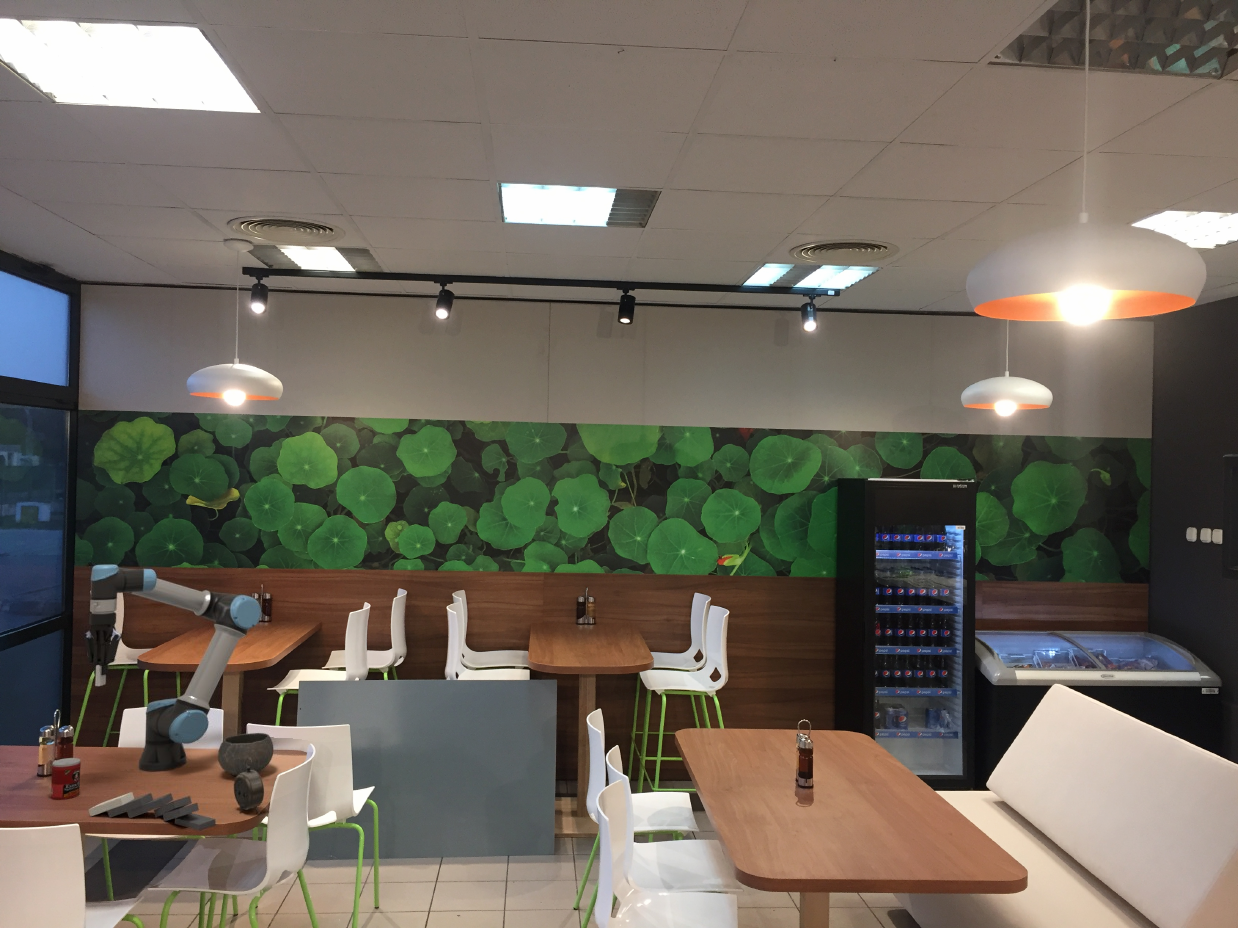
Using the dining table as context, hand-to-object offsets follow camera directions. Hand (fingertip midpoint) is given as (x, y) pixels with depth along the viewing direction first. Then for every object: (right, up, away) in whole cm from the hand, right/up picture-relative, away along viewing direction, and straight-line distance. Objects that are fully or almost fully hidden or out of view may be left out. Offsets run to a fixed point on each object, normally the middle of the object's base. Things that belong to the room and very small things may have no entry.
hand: (100, 684), depth 283 cm
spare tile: (+11, -32, -21) cm, 40 cm away
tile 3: (+23, -33, -22) cm, 46 cm away
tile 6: (+40, -33, -26) cm, 58 cm away
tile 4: (+32, -33, -21) cm, 50 cm away
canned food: (-8, -34, -6) cm, 36 cm away
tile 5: (+36, -32, -25) cm, 54 cm away
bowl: (+39, -36, +19) cm, 56 cm away
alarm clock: (+56, -34, -18) cm, 68 cm away
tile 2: (+17, -32, -22) cm, 43 cm away
